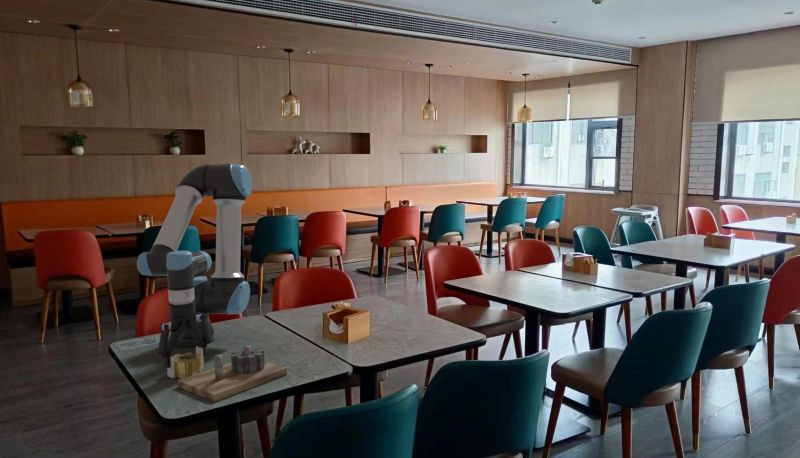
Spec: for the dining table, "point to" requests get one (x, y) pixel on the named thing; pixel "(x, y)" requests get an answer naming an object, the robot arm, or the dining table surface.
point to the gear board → (233, 375)
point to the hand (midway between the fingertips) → (186, 372)
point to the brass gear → (187, 364)
